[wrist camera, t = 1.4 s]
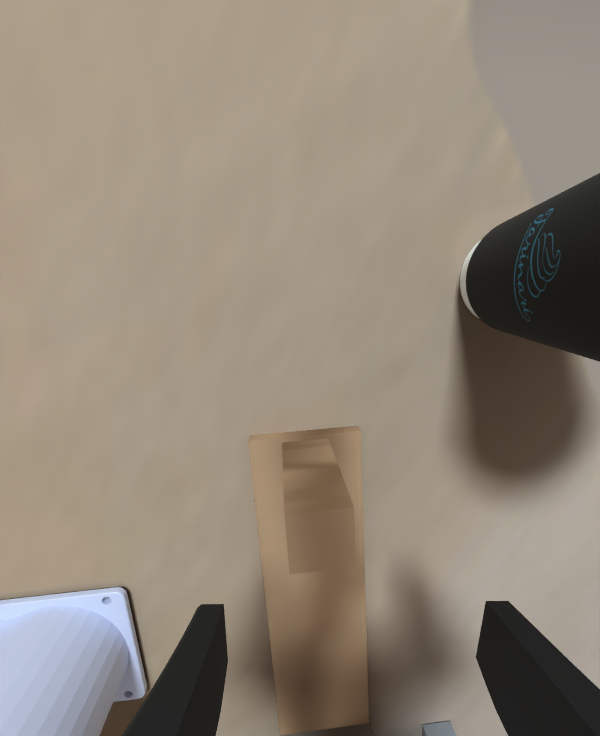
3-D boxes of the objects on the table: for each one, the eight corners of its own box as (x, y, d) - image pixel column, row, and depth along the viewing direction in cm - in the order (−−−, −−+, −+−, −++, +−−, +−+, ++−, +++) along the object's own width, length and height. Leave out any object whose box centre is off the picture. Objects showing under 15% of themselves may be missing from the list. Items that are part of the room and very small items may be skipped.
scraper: (281, 731, 23) (282, 909, 16) (249, 435, 18) (233, 513, 11) (366, 719, 23) (402, 889, 16) (356, 425, 18) (401, 496, 12)
